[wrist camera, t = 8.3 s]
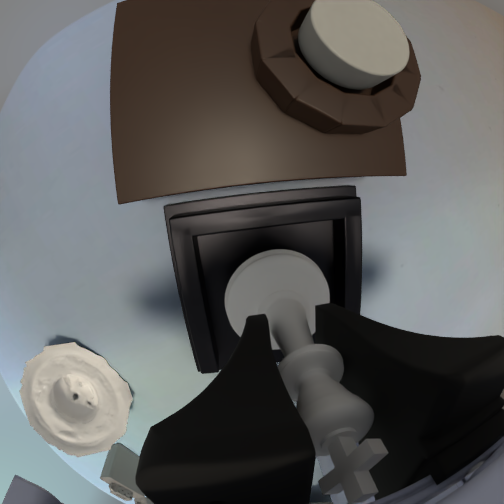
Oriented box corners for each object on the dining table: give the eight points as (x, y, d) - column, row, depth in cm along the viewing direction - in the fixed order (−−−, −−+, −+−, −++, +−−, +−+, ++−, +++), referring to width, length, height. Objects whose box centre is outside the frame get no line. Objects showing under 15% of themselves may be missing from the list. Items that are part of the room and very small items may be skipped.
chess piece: (343, 273, 13) (498, 409, 3) (296, 354, 14) (366, 524, 4) (252, 230, 12) (349, 407, 2) (208, 324, 13) (196, 533, 3)
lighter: (109, 445, 18) (90, 508, 10) (119, 442, 18) (100, 509, 10) (160, 478, 20) (154, 536, 12) (172, 476, 20) (166, 537, 12)
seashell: (89, 349, 19) (7, 355, 13) (114, 336, 17) (12, 344, 10) (118, 434, 17) (40, 456, 10) (150, 439, 15) (55, 471, 8)
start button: (394, 95, 8) (420, 83, 6) (306, 87, 8) (322, 68, 6) (374, 21, 7) (394, 3, 5) (290, 9, 7) (301, -17, 5)
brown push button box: (367, 175, 14) (437, 176, 8) (147, 198, 14) (97, 209, 8) (341, 27, 12) (384, -22, 6) (139, 38, 11) (104, -17, 5)
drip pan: (349, 340, 17) (363, 359, 15) (198, 364, 16) (196, 387, 14) (349, 185, 14) (369, 186, 12) (166, 204, 14) (155, 208, 11)
